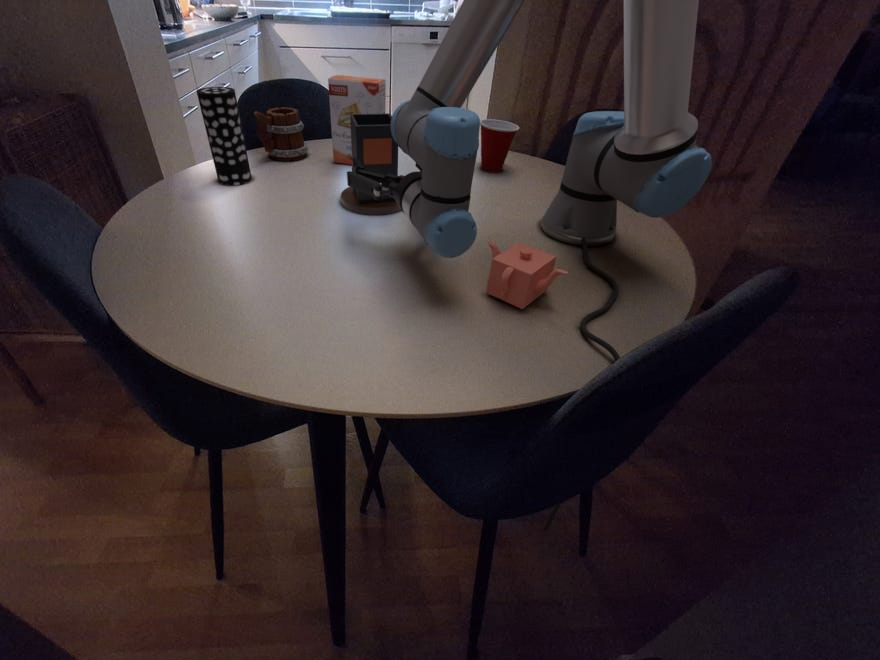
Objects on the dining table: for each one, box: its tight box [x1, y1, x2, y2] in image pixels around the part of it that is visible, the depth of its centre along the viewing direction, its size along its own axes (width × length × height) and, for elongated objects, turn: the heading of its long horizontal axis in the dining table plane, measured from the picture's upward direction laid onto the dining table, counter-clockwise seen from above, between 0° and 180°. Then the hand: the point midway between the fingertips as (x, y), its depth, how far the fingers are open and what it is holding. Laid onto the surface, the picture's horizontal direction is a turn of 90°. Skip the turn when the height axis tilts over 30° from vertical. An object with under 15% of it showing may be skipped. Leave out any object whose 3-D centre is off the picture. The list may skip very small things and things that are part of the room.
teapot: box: [485, 240, 569, 310], centre depth 72 cm, size 12×15×8 cm
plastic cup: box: [480, 118, 520, 173], centre depth 120 cm, size 11×11×12 cm
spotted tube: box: [195, 86, 253, 186], centre depth 106 cm, size 8×8×20 cm
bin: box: [350, 113, 399, 203], centre depth 98 cm, size 9×10×16 cm
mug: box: [253, 106, 309, 162], centre depth 123 cm, size 12×14×15 cm
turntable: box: [340, 186, 401, 216], centre depth 104 cm, size 16×16×2 cm
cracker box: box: [327, 74, 387, 166], centre depth 118 cm, size 14×6×21 cm, turn 73°
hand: (386, 161), depth 90 cm, fingers open, 13 cm apart
